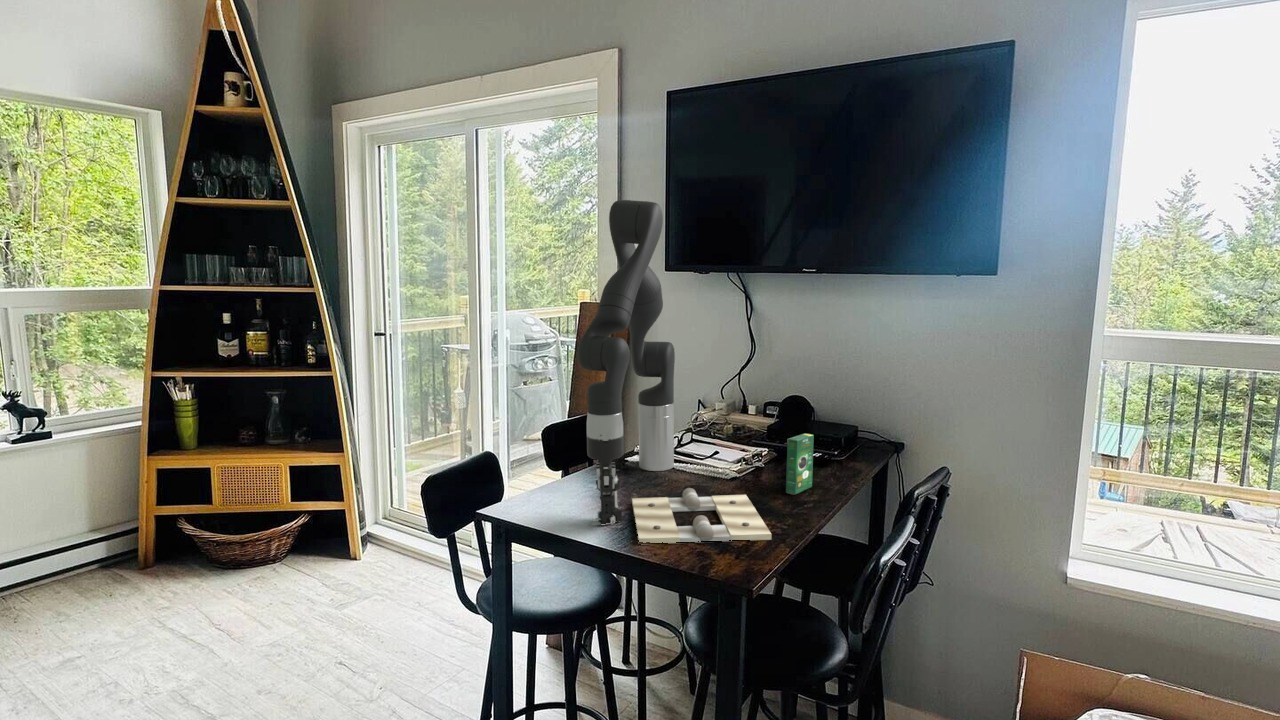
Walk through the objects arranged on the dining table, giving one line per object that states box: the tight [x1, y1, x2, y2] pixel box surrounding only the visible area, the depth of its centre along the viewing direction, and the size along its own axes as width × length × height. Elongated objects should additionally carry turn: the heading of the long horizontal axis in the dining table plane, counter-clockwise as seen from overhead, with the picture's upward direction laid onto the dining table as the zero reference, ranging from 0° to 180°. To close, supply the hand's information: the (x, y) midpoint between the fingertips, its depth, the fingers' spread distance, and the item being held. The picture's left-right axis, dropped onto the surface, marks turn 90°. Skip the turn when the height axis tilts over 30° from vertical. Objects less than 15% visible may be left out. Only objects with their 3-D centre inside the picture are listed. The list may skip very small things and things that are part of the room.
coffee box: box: [785, 432, 815, 496], centre depth 166 cm, size 8×3×13 cm, turn 137°
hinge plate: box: [631, 487, 772, 544], centre depth 148 cm, size 23×26×3 cm
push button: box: [592, 474, 623, 526], centre depth 146 cm, size 7×5×10 cm
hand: (606, 512), depth 147 cm, fingers closed on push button, 4 cm apart
